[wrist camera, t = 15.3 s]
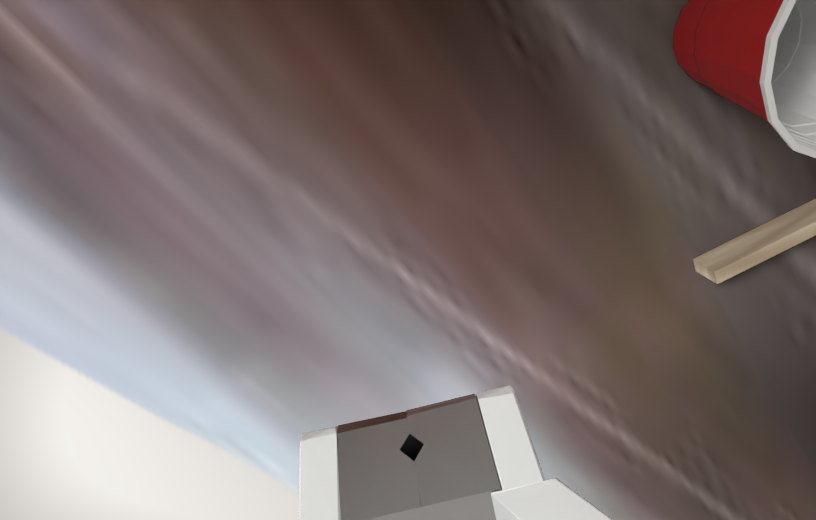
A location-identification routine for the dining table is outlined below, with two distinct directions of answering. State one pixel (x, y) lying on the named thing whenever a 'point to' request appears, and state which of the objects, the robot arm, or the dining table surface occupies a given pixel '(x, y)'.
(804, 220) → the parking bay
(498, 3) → the dining table surface
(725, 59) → the plastic cup
